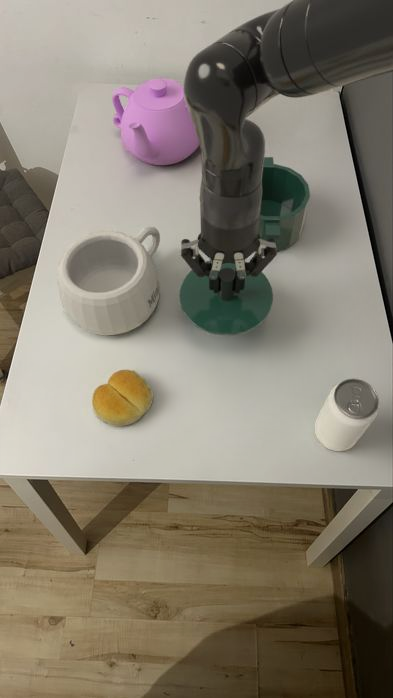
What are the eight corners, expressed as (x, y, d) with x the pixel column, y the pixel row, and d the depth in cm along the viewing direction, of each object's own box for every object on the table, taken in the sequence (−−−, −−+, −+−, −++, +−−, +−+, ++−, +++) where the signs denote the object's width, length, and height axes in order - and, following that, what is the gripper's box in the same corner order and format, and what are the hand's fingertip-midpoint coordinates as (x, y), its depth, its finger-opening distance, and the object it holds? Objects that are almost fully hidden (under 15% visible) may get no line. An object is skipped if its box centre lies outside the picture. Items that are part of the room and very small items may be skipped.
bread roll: (84, 404, 77) (78, 393, 74) (128, 367, 80) (124, 355, 77) (118, 440, 74) (114, 430, 71) (162, 400, 77) (160, 390, 74)
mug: (117, 358, 81) (106, 325, 72) (45, 308, 86) (26, 271, 78) (197, 273, 89) (195, 235, 81) (126, 232, 95) (118, 191, 86)
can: (311, 446, 73) (327, 415, 63) (316, 406, 76) (333, 371, 66) (356, 456, 72) (380, 427, 62) (359, 415, 75) (383, 381, 65)
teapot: (91, 176, 102) (75, 115, 90) (131, 111, 112) (121, 48, 100) (193, 198, 98) (190, 138, 86) (224, 129, 108) (226, 66, 96)
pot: (297, 188, 99) (304, 153, 92) (306, 264, 90) (315, 231, 82) (228, 189, 99) (229, 154, 92) (230, 265, 90) (232, 232, 83)
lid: (269, 261, 83) (273, 236, 77) (275, 337, 75) (280, 315, 70) (181, 262, 83) (179, 237, 78) (178, 338, 76) (176, 316, 70)
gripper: (173, 228, 60) (180, 309, 75) (289, 227, 60) (273, 308, 75) (175, 184, 64) (181, 269, 79) (284, 182, 63) (270, 268, 79)
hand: (226, 288), depth 77 cm, fingers closed on lid, 2 cm apart
